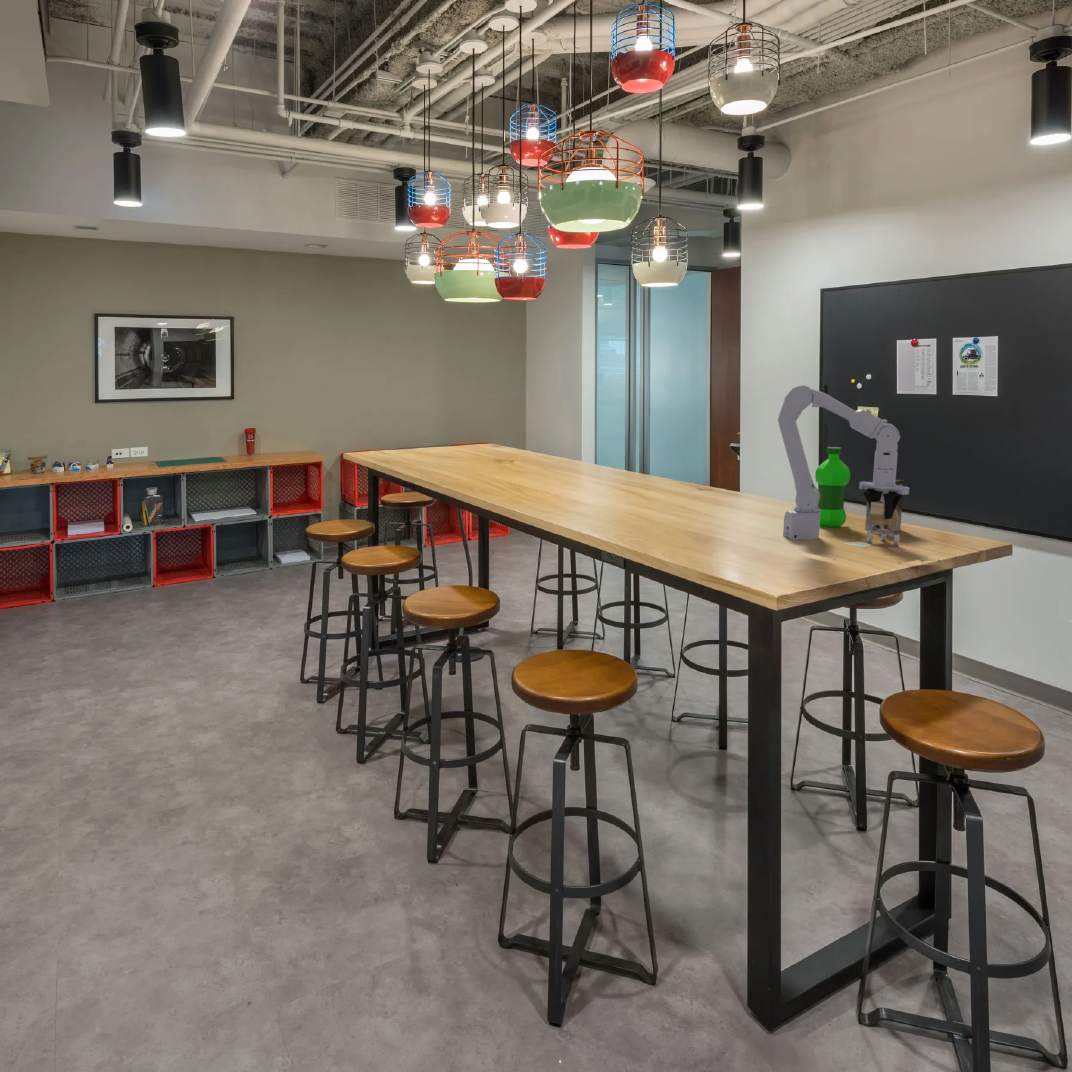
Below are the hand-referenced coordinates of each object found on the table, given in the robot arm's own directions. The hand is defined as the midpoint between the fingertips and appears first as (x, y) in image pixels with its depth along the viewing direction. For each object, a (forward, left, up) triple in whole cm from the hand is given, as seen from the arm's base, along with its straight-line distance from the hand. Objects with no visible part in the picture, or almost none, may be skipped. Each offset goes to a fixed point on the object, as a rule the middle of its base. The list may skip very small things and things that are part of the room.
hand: (881, 517), depth 226 cm
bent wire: (-1, -3, -7) cm, 8 cm away
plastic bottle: (-2, +28, -8) cm, 29 cm away
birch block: (0, 0, -2) cm, 2 cm away
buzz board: (-3, -6, -8) cm, 10 cm away
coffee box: (+10, +18, -8) cm, 22 cm away
